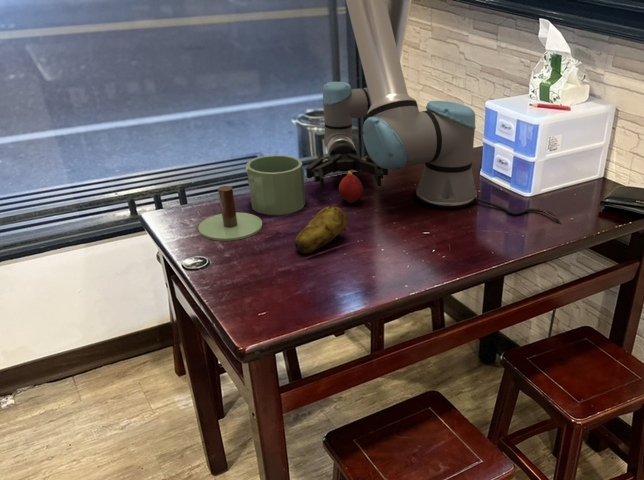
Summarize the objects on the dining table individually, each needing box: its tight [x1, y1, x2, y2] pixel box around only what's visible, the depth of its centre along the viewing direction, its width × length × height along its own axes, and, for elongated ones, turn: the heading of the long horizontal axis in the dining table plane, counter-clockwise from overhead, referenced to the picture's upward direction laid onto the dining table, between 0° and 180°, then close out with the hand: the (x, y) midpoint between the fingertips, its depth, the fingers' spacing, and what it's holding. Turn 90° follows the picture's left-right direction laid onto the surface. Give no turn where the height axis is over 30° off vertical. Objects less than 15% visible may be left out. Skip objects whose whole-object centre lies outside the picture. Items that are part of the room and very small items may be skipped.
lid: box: [197, 185, 263, 242], centre depth 134 cm, size 14×14×10 cm
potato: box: [294, 205, 349, 254], centre depth 129 cm, size 8×13×8 cm, turn 123°
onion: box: [338, 170, 364, 204], centre depth 149 cm, size 6×6×8 cm
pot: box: [245, 154, 306, 216], centre depth 145 cm, size 13×13×10 cm
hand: (351, 182), depth 146 cm, fingers open, 13 cm apart
